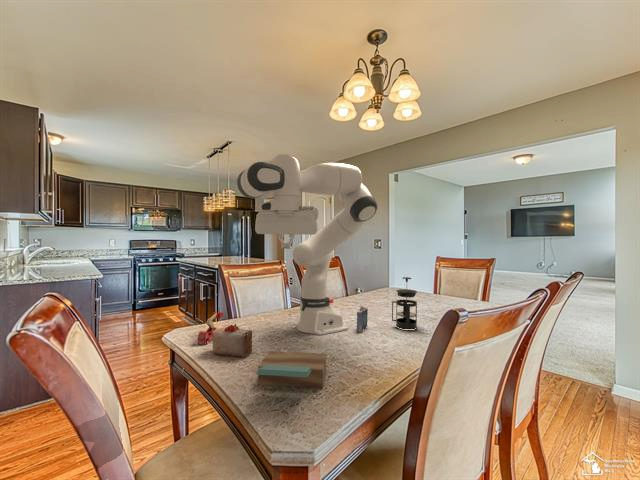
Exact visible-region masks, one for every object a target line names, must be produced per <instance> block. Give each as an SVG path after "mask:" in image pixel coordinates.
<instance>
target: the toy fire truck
mask: <svg viewBox="0 0 640 480" xmlns="http://www.w3.org/2000/svg"><path fill="white" fill-rule="evenodd" d="M224 317H225V316H224V312H219V311H216V312H212V316H211V317H210V318H207V320H206V325H207V326H208V328H207V330H205V331H203V330H201V331H200V332H199V333H198V334H197V335H198V336H197V344H199V345H208V344H209V343H210V342H211V341H213V340H212V339H213V338H212V332H213V331H214V330H216V329H218V328H217V327H216V326H215V324H214V322H213V320H214V319H222V318H224Z"/></svg>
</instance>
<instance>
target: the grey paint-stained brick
mask: <svg viewBox="0 0 640 480" xmlns="http://www.w3.org/2000/svg"><path fill="white" fill-rule="evenodd" d="M212 338H213V339H212V340H211V341H212V354H213V355H220V356H229V357H230V356H231V357H236V358H237V357H238V358H239V357H240V358H247V357H249V355H250V354H252V352H253V330H251V329H243V328H240V327H238V326H237V323H235V324H234V325H233V324H230V325H228V326H226V327H220V328H217V329H216V330H214V331H213V332H212Z"/></svg>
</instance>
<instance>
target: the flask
mask: <svg viewBox="0 0 640 480" xmlns="http://www.w3.org/2000/svg"><path fill="white" fill-rule="evenodd" d="M368 311H369V310H368V308H367V307H365V306H364V305H362V304H361V305H359V309H358V310H357V311H356V333H363V332H364V331H363V329H364V330H366V329H367V328H368V313H369V312H368ZM366 327H367V328H366ZM365 328H366V329H365ZM362 331H363V332H362Z"/></svg>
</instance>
